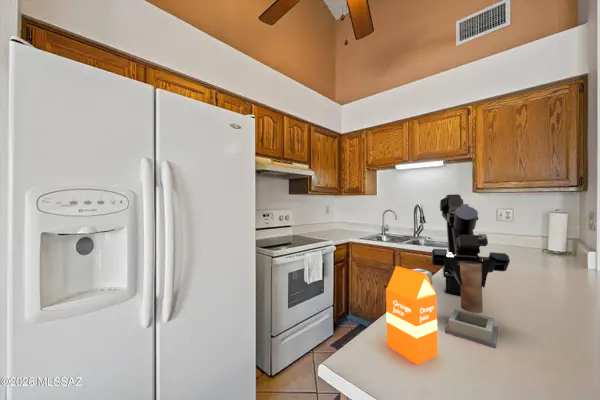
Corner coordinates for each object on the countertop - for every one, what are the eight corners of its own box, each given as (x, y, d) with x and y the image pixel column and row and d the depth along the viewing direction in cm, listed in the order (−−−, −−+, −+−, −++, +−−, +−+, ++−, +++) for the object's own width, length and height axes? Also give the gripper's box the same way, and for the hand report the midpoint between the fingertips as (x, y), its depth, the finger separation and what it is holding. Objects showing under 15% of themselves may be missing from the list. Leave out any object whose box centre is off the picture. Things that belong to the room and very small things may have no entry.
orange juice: (417, 365, 53) (415, 276, 54) (386, 344, 61) (385, 267, 62) (438, 354, 57) (436, 271, 57) (406, 336, 65) (405, 263, 65)
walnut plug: (456, 306, 69) (455, 262, 69) (468, 304, 70) (467, 260, 71) (474, 314, 64) (473, 266, 64) (486, 311, 66) (485, 264, 66)
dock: (445, 332, 67) (444, 320, 67) (452, 318, 75) (452, 307, 75) (495, 348, 59) (495, 334, 59) (497, 330, 68) (497, 318, 68)
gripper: (431, 223, 75) (434, 266, 65) (506, 225, 67) (523, 274, 57) (430, 244, 82) (433, 286, 72) (498, 248, 74) (512, 296, 64)
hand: (471, 285), depth 66 cm, fingers closed on walnut plug, 5 cm apart
